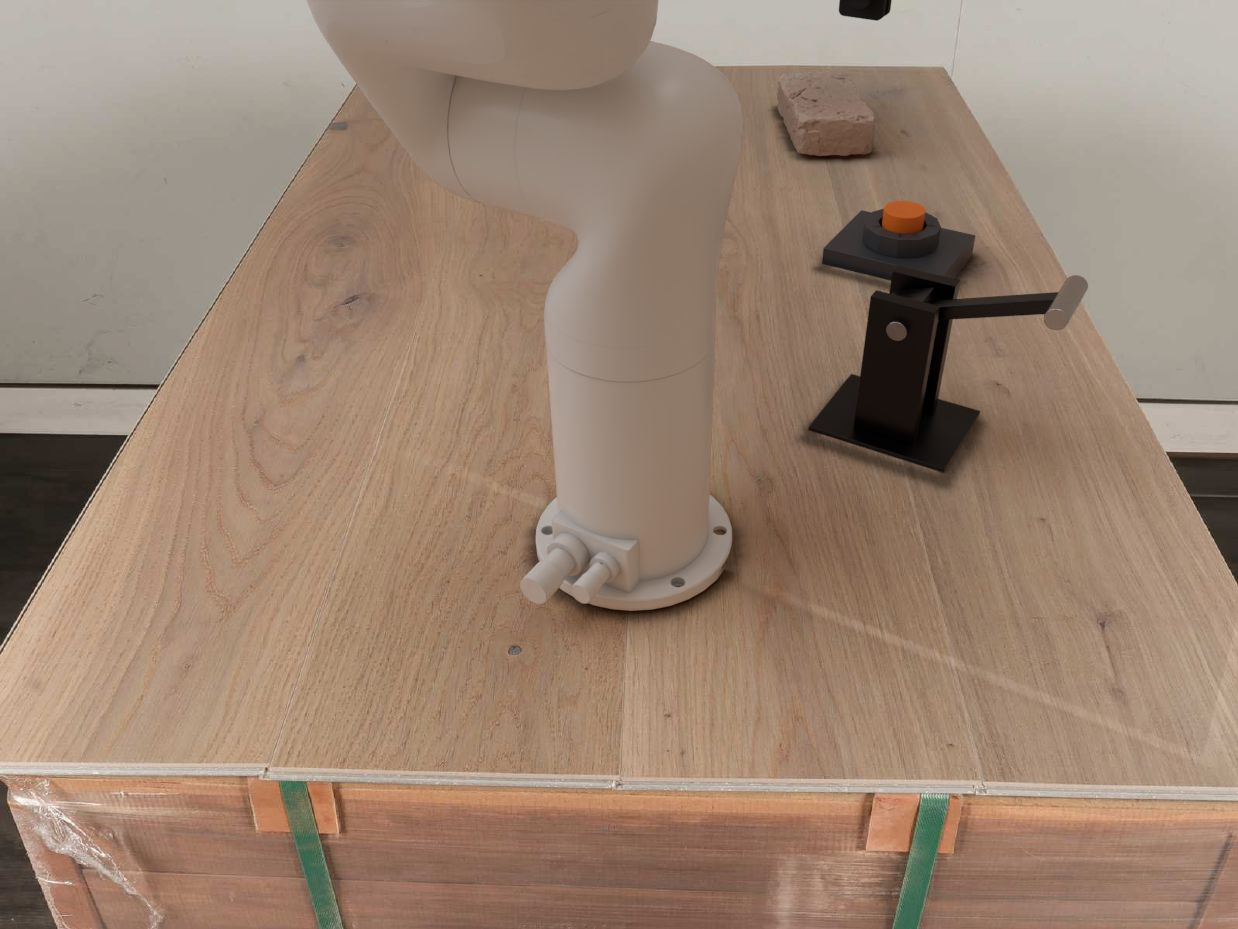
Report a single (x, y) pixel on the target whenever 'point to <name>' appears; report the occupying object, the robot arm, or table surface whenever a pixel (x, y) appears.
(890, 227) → the button
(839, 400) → the bracket
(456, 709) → the table surface
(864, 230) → the button box
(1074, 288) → the lever
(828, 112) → the brick
